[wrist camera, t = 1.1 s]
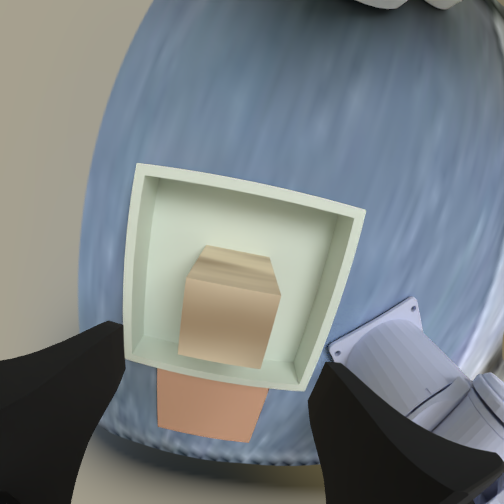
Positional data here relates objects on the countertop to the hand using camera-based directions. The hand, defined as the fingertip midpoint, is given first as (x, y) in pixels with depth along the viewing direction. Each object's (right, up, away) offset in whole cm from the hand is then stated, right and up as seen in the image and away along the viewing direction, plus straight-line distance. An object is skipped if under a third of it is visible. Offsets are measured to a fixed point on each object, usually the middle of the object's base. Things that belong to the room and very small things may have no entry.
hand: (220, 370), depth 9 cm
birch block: (0, +2, +9) cm, 9 cm away
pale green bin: (0, +2, +9) cm, 9 cm away
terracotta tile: (-3, -9, +12) cm, 15 cm away
